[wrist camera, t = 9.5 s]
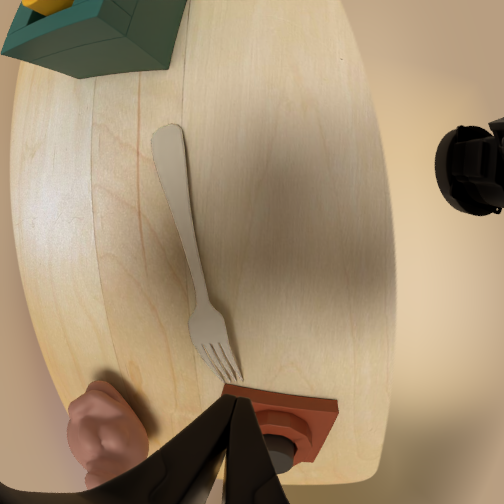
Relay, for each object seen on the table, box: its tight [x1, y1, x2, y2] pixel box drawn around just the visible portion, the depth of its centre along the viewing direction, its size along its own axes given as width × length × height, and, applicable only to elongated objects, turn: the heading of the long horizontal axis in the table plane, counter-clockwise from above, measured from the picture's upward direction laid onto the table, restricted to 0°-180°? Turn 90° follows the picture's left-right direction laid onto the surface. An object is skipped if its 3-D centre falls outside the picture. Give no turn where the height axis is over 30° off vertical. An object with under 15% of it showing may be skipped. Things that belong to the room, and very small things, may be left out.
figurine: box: [67, 381, 149, 490], centre depth 21 cm, size 9×11×12 cm
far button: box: [263, 434, 294, 474], centre depth 20 cm, size 4×4×2 cm
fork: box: [151, 124, 243, 383], centre depth 21 cm, size 3×21×3 cm, turn 13°
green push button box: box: [1, 0, 187, 79], centre depth 13 cm, size 9×7×10 cm
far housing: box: [221, 384, 339, 467], centre depth 22 cm, size 10×8×4 cm
